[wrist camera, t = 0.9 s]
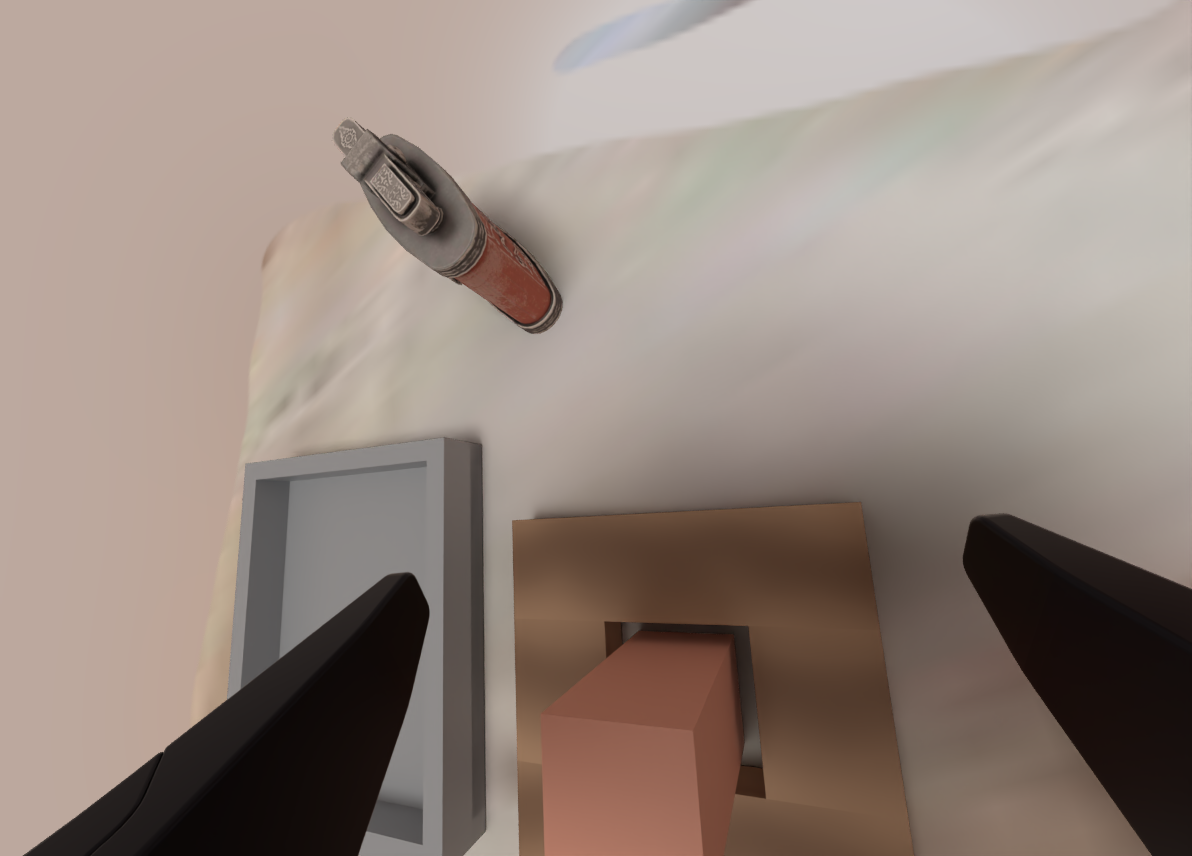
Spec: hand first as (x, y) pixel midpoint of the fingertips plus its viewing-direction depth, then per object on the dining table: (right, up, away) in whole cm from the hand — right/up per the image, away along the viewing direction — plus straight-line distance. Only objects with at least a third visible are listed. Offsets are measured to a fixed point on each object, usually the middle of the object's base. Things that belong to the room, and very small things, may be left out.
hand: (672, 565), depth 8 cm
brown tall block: (+3, -8, +12) cm, 15 cm away
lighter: (-6, +10, +18) cm, 22 cm away
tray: (-13, -8, +18) cm, 24 cm away
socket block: (+3, -8, +12) cm, 15 cm away
